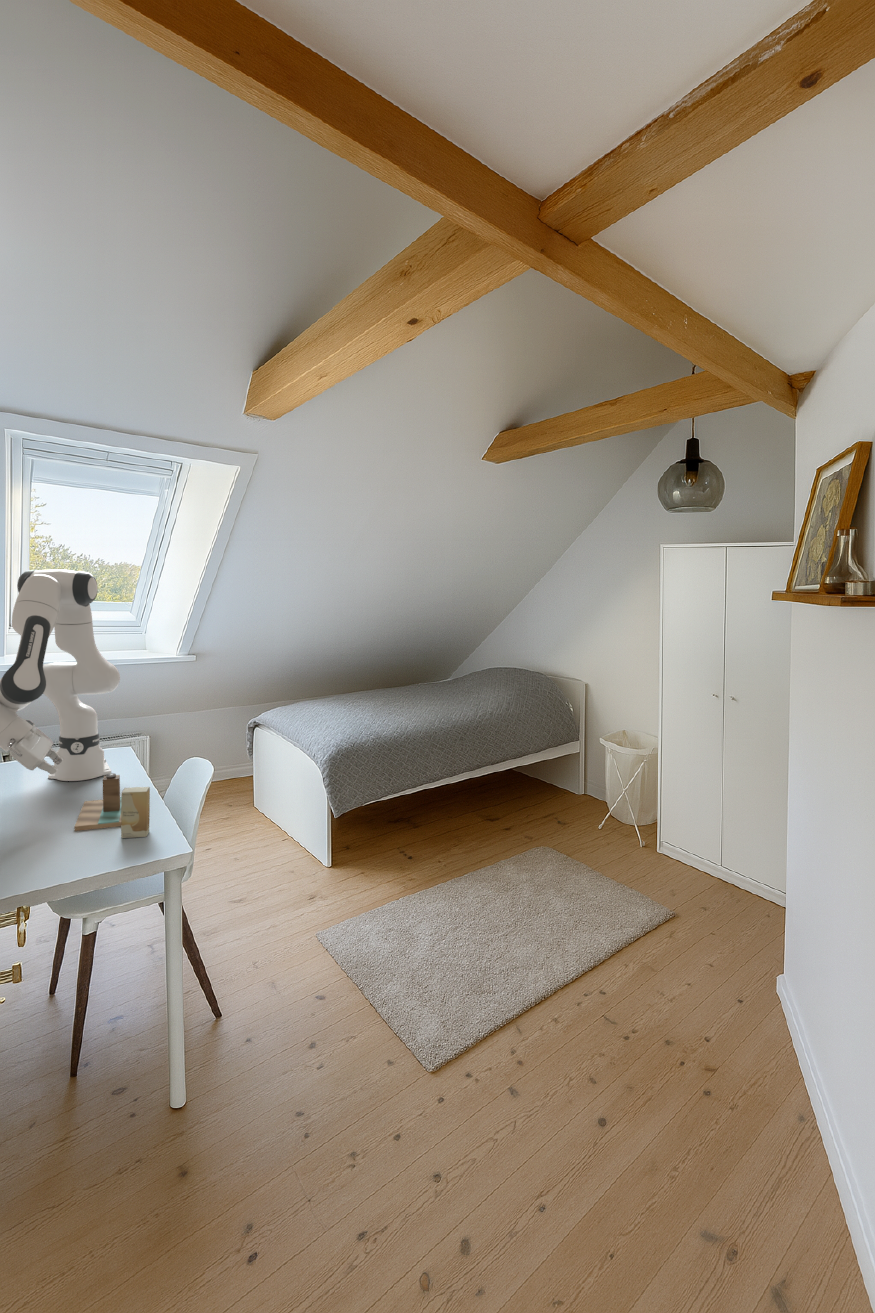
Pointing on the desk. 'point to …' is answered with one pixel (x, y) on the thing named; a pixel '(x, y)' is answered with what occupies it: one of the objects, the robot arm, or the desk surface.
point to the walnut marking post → (111, 792)
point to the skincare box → (135, 812)
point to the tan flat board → (97, 816)
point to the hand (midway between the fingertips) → (58, 767)
